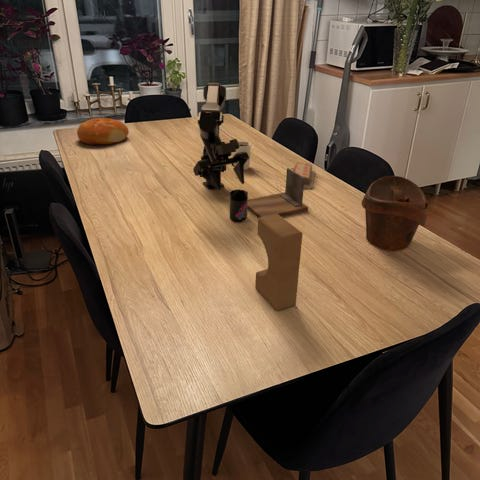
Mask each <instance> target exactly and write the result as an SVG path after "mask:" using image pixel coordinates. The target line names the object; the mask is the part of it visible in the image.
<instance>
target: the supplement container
mask: <svg viewBox="0 0 480 480" xmlns="http://www.w3.org/2000/svg"><path fill="white" fill-rule="evenodd" d="M248 199H249V193H248V191H246V190H244V189H233V190H230V192H229V219H230V221H233V222H236V223H241V222H245V221H246V220H247V219H248V209H247V204H248Z"/></svg>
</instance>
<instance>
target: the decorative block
mask: <svg viewBox="0 0 480 480" xmlns="http://www.w3.org/2000/svg"><path fill="white" fill-rule="evenodd" d="M256 232H257V234H256V235H257V236H258V238H260V240H261V242H262V244H263V246H264V249H265V252H266V257H267V268H266V269H262V270H259V271H256V273H255V282H254V283H255V284H254V285H255V286H254V287H255V289H257V291H258V292H259V293H260V294H261V295H262V296H263V297H264V299H265V300H266V301H267V302H268V303H269V304H270V305H271V306H272V307H273V308H274V309H275V311H281V310H285V309H287V308H290V307H293V306H296V304H297V296H298V294H297V293H298V285H299V274H300V264H301V254H302V244H303V242H302V241H303V232H302V231H300V230H299V229H298V228H297V227H296V226H294V225H293V224H292V223H290V222H289V221H287V220H286V219H285V218H284V217H281V216H280V215H278V214H272V215H268V216H263V217H259V218H257V231H256Z"/></svg>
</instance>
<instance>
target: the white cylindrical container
mask: <svg viewBox="0 0 480 480" xmlns="http://www.w3.org/2000/svg"><path fill="white" fill-rule="evenodd" d="M238 143H239V149H236V152H234V155H235V154H236V153H239V152H244V151H245V152H247V153H248V155H249V159H248V160H247V162H246V163H245V164H244V171H245V170H248V169H249V168H250V161H251V147H252V144H251V142H249V141H238Z"/></svg>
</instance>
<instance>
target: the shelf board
mask: <svg viewBox="0 0 480 480" xmlns="http://www.w3.org/2000/svg"><path fill="white" fill-rule="evenodd" d="M304 179H305V178H304V177H302V176H301V175H299V174H297V173H296V172H294V171H292V170H291V168H289V167H287V168H286V178H285V191H284V192H280V193H279V192H278V193H273V194H270V195H264V196H260V197H254V198H250V199H249V198H248V204H247V211H249V212H250V213H251V214H253V216H255V217H256V218H257V219H258V218H259V217H263V216H268V215H272V214H278V215H280V216H281V217H282V218H284V217H287V216H291V215H296V214H301V213H304V212H305V213H306V212H308V211H309V206H308V205H306V204H304V203H303V198H304V189H305V188H304Z"/></svg>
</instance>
